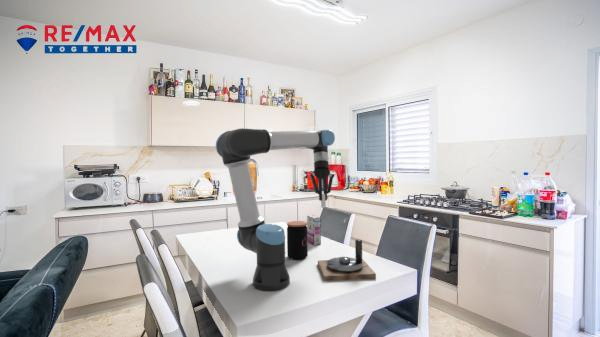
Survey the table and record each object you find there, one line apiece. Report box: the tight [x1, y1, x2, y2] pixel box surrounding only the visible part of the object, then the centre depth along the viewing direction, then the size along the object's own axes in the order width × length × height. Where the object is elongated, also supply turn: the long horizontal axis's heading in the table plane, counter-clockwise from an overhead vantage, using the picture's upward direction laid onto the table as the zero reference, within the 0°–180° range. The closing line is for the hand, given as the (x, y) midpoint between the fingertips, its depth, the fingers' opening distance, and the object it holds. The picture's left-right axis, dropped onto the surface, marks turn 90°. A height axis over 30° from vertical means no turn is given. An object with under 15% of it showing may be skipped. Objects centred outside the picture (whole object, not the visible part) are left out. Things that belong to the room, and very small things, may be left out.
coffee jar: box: [286, 220, 309, 261], centre depth 155 cm, size 11×11×18 cm
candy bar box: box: [306, 214, 322, 246], centre depth 183 cm, size 11×5×16 cm, turn 21°
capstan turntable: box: [327, 239, 363, 273], centre depth 134 cm, size 16×16×12 cm
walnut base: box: [317, 258, 377, 282], centre depth 134 cm, size 22×20×2 cm
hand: (323, 207), depth 147 cm, fingers closed
